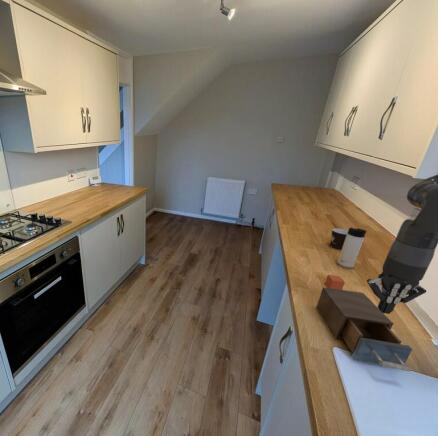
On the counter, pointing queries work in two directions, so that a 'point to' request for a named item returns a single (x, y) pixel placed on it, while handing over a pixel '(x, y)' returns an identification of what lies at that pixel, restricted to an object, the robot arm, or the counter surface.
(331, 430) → the counter surface
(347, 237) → the travel mug
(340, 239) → the coffee mug
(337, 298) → the cabinet
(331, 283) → the block
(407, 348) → the drawer
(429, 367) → the counter surface
